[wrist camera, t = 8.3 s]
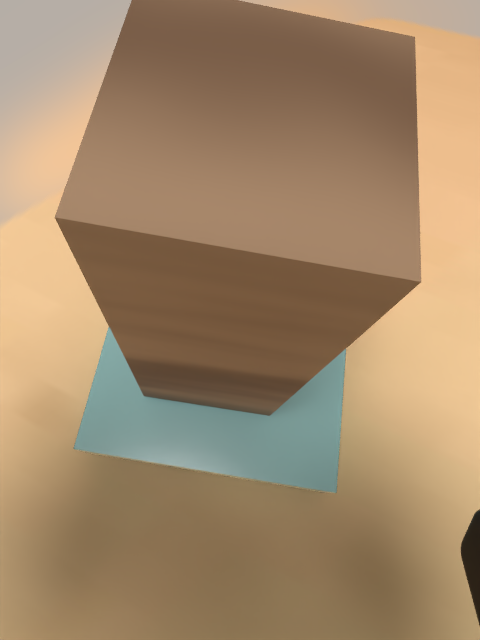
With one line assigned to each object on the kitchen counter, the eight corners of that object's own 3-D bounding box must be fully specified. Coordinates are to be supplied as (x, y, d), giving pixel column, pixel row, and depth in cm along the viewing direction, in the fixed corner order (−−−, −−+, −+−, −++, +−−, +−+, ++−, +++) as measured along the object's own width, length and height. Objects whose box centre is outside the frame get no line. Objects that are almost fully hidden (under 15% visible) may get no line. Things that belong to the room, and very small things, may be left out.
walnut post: (269, 415, 17) (421, 282, 6) (143, 396, 17) (55, 217, 6) (281, 301, 19) (414, 36, 8) (168, 282, 19) (139, -21, 8)
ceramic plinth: (320, 492, 18) (336, 492, 16) (90, 454, 18) (73, 448, 16) (336, 286, 22) (351, 262, 20) (145, 254, 22) (137, 226, 20)
